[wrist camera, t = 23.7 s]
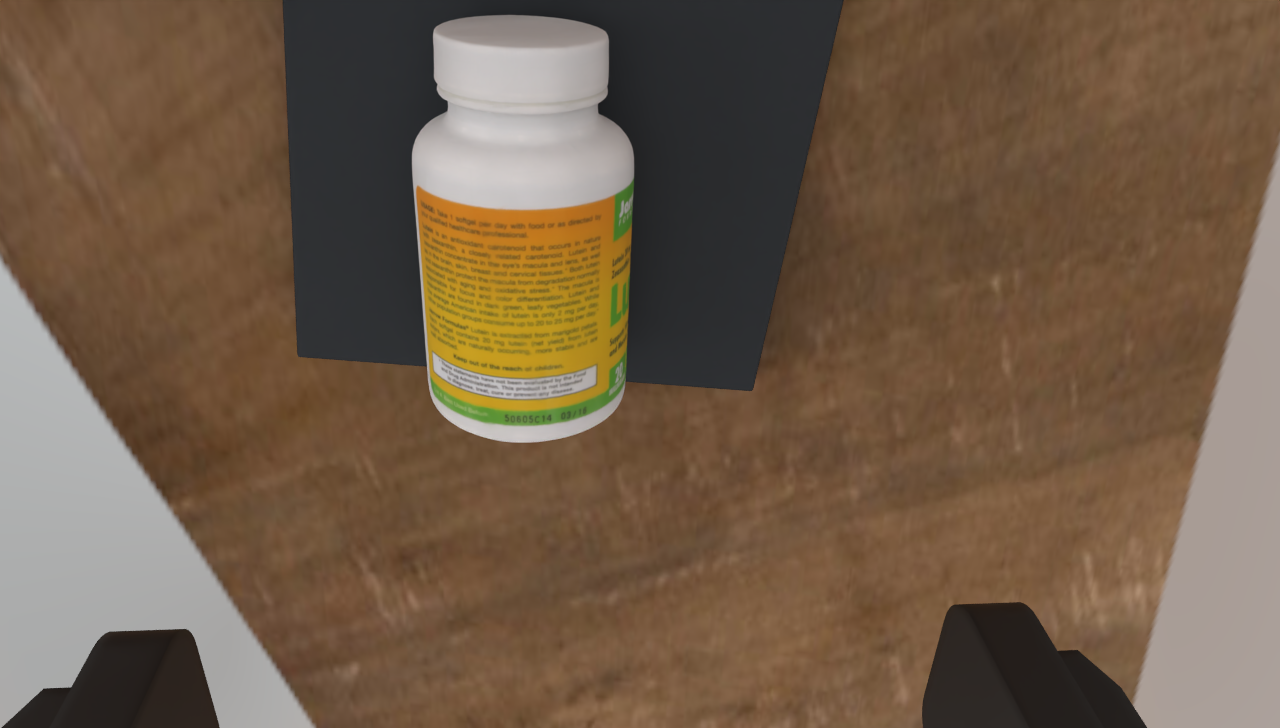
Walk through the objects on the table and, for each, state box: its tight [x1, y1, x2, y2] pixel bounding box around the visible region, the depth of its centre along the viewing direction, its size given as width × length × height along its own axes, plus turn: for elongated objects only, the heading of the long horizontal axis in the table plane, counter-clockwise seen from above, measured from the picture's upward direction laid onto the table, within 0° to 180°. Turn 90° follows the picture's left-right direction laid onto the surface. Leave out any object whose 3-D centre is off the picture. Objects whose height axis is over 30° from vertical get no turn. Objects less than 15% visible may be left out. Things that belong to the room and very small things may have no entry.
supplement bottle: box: [412, 15, 634, 443], centre depth 24 cm, size 5×5×10 cm
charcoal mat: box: [283, 0, 843, 391], centre depth 26 cm, size 14×14×1 cm
